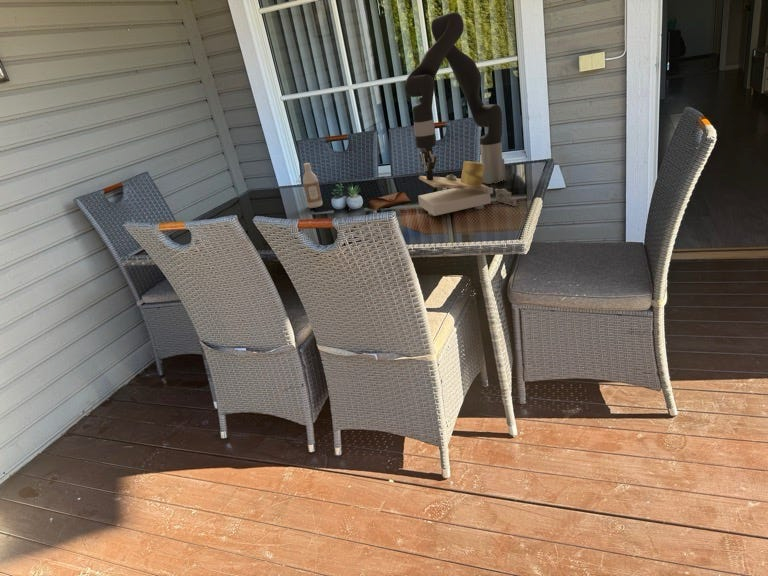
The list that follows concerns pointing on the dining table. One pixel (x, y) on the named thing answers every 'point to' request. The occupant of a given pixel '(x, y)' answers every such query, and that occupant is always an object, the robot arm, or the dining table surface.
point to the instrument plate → (451, 183)
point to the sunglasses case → (388, 200)
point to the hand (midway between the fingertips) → (430, 179)
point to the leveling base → (454, 200)
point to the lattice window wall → (505, 197)
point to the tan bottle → (311, 187)
